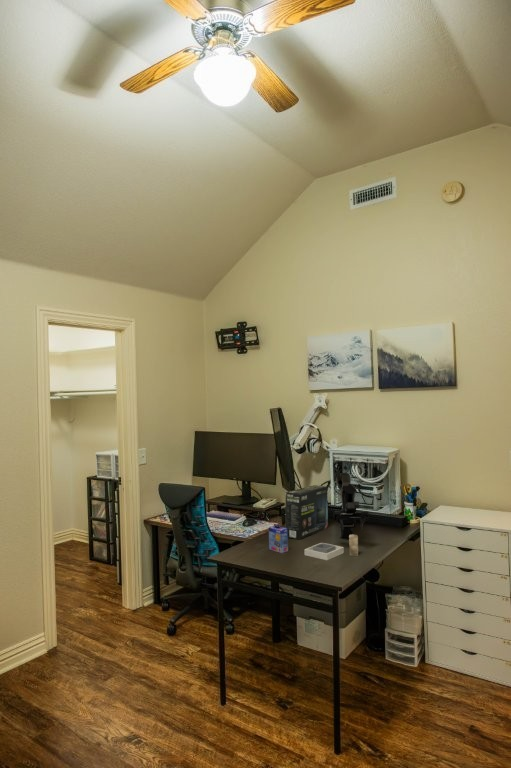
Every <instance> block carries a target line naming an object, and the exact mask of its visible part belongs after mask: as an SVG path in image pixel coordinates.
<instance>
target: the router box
mask: <svg viewBox="0 0 511 768" xmlns="http://www.w3.org/2000/svg"><path fill="white" fill-rule="evenodd" d="M284 496H285V528H287V531H288V539H296V540H302V539H305V538H307V537H309V536H312V535H314V534H317V533H319V532H322V531H324V530H326V529H328V527H329V524H328V523H329V521H328V518H329V515H328V513H329V511H328V509H329V507H328V503H329V502H328V486H325V485H316V484H314V485H313V484H312V485H309V486H307V487H302V488H299V489H294V490H291V491H287V492H285V493H284Z"/></svg>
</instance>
